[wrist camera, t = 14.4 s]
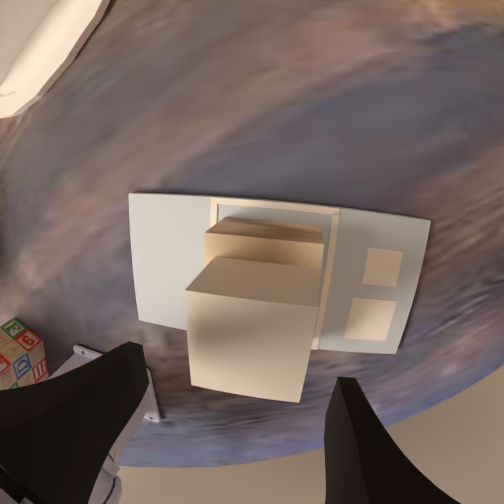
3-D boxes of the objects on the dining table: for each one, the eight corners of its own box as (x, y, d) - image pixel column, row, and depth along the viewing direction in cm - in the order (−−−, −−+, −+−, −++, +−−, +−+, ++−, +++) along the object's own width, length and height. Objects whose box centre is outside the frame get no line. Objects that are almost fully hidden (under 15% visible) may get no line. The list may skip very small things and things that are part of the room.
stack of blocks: (63, 426, 35) (27, 471, 23) (37, 406, 35) (0, 447, 24) (43, 338, 27) (-22, 394, 16) (13, 315, 28) (-49, 360, 16)
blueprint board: (142, 316, 23) (138, 320, 22) (133, 192, 19) (128, 193, 19) (393, 349, 20) (395, 354, 19) (427, 219, 16) (431, 221, 16)
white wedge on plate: (46, -58, 11) (-4, -79, 1) (180, -76, 11) (125, -142, 1) (-33, 94, 20) (-92, 98, 9) (46, 149, 20) (-58, 164, 10)
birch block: (223, 327, 21) (206, 361, 17) (225, 216, 18) (204, 232, 14) (304, 338, 20) (302, 375, 16) (320, 225, 17) (324, 244, 14)
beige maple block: (214, 339, 16) (191, 384, 13) (214, 256, 15) (184, 290, 11) (302, 351, 16) (299, 402, 12) (315, 267, 14) (318, 307, 10)
